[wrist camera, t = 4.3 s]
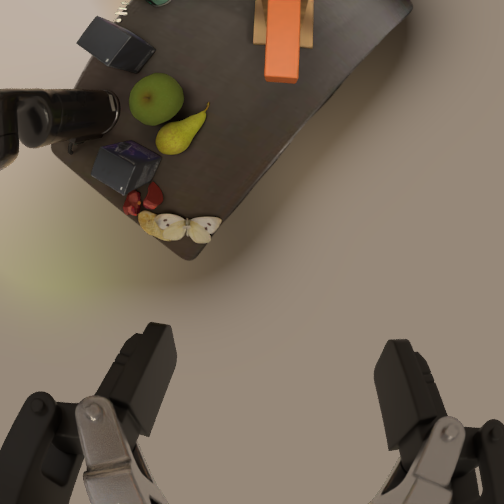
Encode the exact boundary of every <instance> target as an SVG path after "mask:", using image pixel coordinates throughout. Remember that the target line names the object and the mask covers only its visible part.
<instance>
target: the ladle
mask: <svg viewBox="0 0 504 504" xmlns="http://www.w3.org/2000/svg"><path fill="white" fill-rule="evenodd" d="M300 14H301V0H268V8H267V29H266V49H265V70H264V76H265V79H266V81H267V82H282V83H294V84H295V83H296V82H297V79H298V73H299V49H300Z"/></svg>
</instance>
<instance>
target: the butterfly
mask: <svg viewBox="0 0 504 504" xmlns="http://www.w3.org/2000/svg"><path fill="white" fill-rule="evenodd" d="M154 221H155V222H156V224H157V225H158V227H159V228H160V229H161V230H164V232H163V234H162V236H163V238H164V239H169V240H180V239H181V238H182V237H183V236H184V234H185V232H186V231H187V233H186V235H187V237H188V236H189V235H190V237H191V239H192V240H193V241H194V242H196V243H209V242H210V241H211V236H210V234H213V233H214V232H215V231H216V230H217V228H218V227H219V225H220V224H221V222H222V220H221V219H220V218H217V217H197V218H193V219H191V220H189V219H188V218H187V219H186V220H184V219H183V218H182V217H180V216H177V215H173V214H160V215H156V216H155V217H154Z"/></svg>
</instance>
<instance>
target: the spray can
mask: <svg viewBox="0 0 504 504" xmlns="http://www.w3.org/2000/svg"><path fill="white" fill-rule="evenodd" d="M146 1H147V2H149V3H150V4H151V5H153V6H156V7H160V6H164V5H166V4H168V3H169V2H170V1H171V0H146Z"/></svg>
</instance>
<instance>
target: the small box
mask: <svg viewBox="0 0 504 504" xmlns="http://www.w3.org/2000/svg"><path fill="white" fill-rule="evenodd" d="M77 44H78V45H79V46H81V47H82V48H84V49H85V50H86V51H88V52H89V53H91V54H92V55H93V56H94V57H96V58H97V59H98V60H100V61H101V62H102V63H104V64H105V65H106V66H109V67H113V68H118V69H122V70H126V71H129V72H133V73H138V72H139V70H140V69H141V68H142V66H143V65H144V64H145V62H146V61H147V60H148V59H149V58H150V57H151V56H152V54H153V53H154V52H155V50H156V49H155V48H154V47H152V46H151V45H150V44H148V43H147V42H146V41H144V40H143V39H141V38H140V37H138V36H137V35H135V34H134V33H132V32H131V31H129V30H127V29H126V28H124V27H122V26H120V25H118V24H116V23H113V22H111V21H109V20H106V19H103V18H101V17H98V16H97V17H95V19H94V20H93V21H92V22H91V24H90V25H89V26H88V28H87V29H86V30H85V32H84V33H83V34H82V36H81V37H80V39H79V40H78V41H77Z"/></svg>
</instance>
